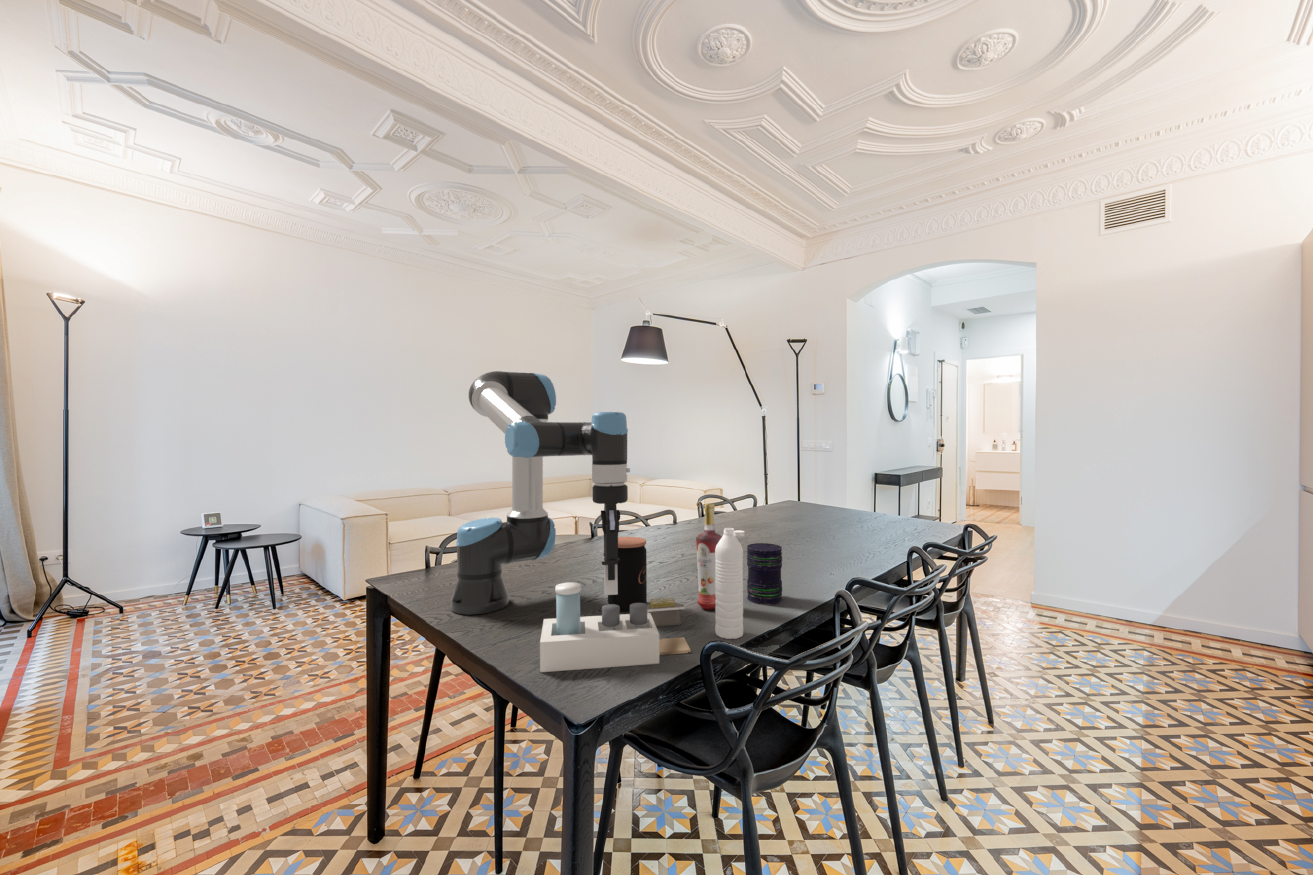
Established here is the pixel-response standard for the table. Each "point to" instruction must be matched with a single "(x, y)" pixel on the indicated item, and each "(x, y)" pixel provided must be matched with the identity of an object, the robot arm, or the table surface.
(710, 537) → the liquor
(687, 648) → the coaster
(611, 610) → the button
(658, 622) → the platform
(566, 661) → the housing
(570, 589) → the cartridge
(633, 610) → the button
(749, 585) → the storage jar
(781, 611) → the table surface
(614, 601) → the coffee jar
